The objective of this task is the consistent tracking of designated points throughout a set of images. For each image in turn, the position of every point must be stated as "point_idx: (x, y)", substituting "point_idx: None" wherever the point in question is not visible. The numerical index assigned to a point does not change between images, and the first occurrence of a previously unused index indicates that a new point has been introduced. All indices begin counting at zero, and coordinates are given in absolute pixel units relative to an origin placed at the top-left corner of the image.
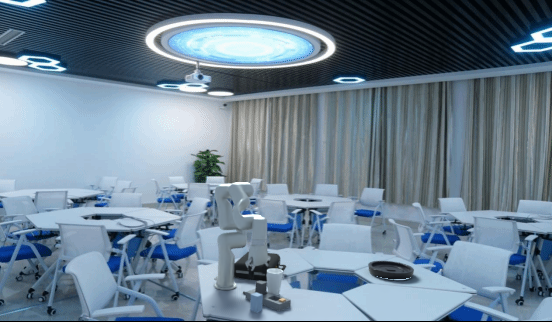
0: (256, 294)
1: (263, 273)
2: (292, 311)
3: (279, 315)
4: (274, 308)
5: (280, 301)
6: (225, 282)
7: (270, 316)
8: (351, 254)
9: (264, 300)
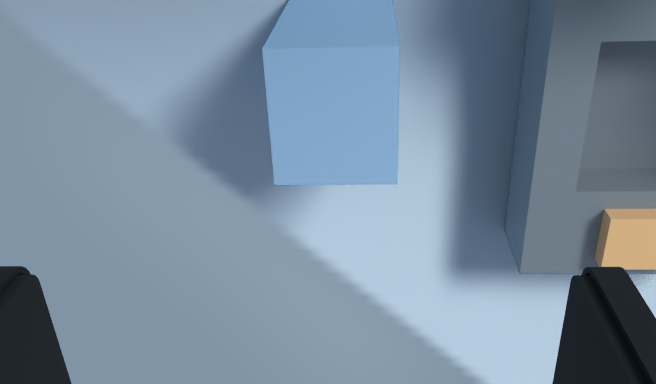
0: (330, 116)
1: (563, 341)
2: None
3: (422, 284)
4: (513, 174)
5: (600, 236)
6: None
7: (341, 246)
8: None
9: (545, 30)
